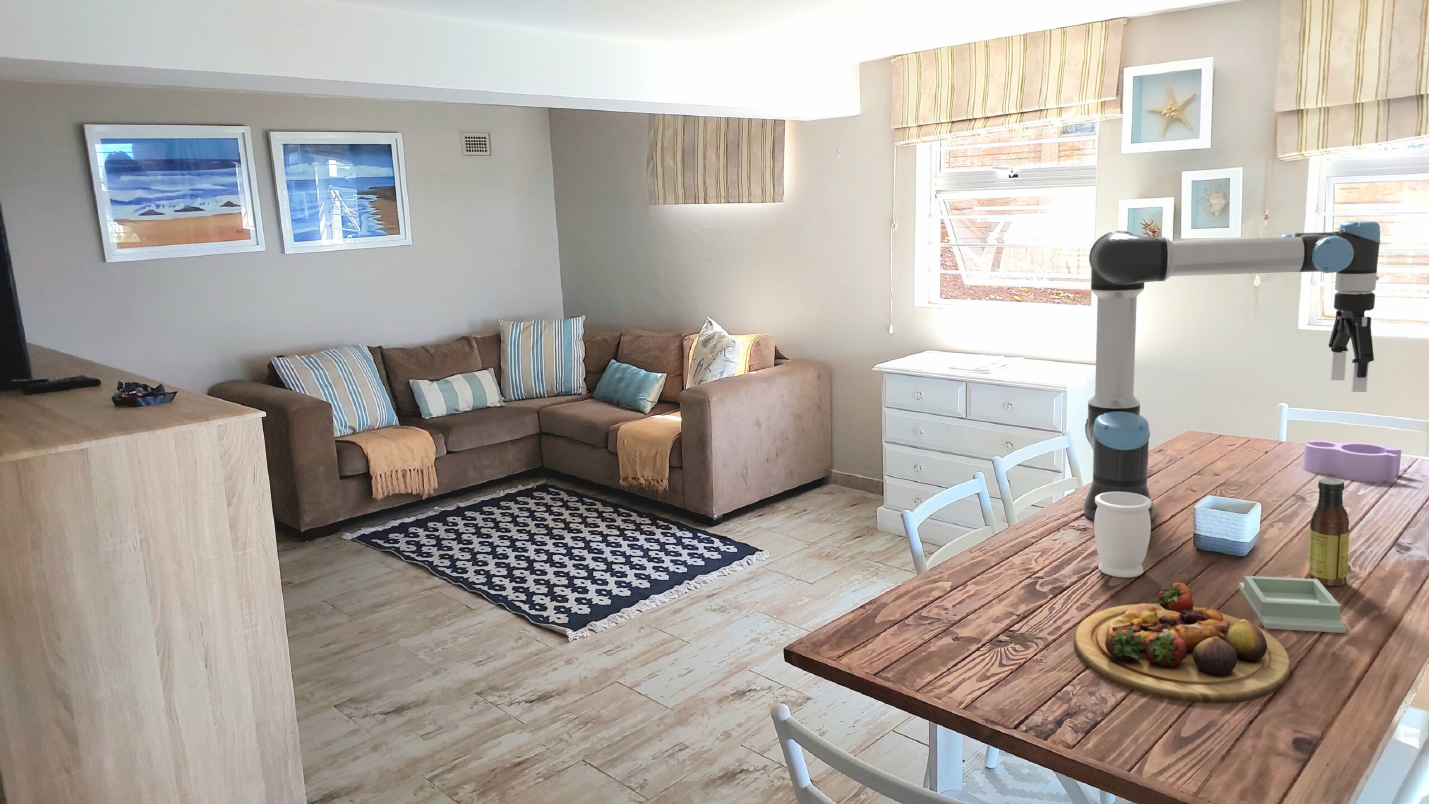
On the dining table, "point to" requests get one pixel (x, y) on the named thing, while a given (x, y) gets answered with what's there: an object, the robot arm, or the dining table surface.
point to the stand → (1293, 604)
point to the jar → (1122, 532)
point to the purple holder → (1352, 460)
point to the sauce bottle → (1329, 535)
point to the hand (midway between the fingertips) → (1347, 385)
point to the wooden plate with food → (1182, 651)
